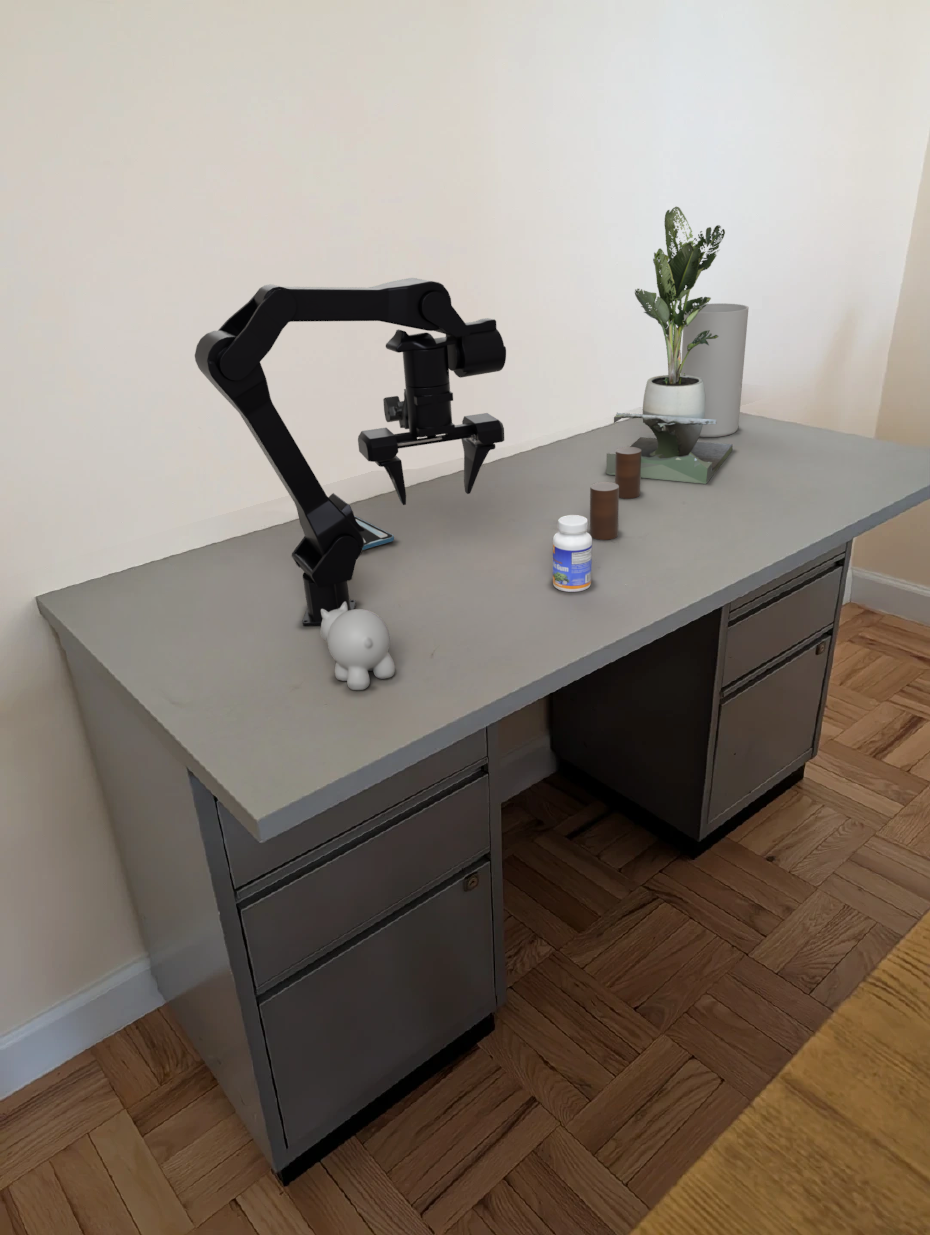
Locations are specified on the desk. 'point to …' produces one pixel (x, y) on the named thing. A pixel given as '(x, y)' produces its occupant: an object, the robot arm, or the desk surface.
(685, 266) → the potted plant
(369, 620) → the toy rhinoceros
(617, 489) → the near peg
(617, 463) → the far peg
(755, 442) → the desk surface
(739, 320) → the cylinder vase
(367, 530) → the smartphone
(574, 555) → the pill bottle
